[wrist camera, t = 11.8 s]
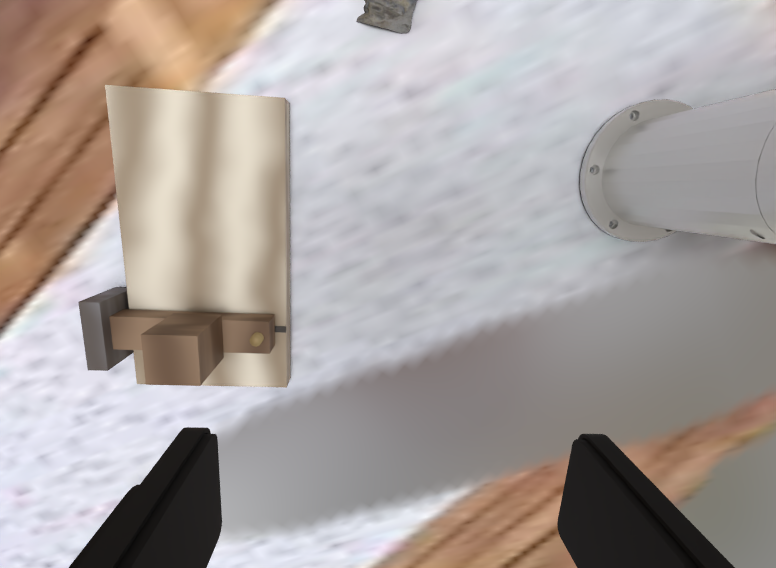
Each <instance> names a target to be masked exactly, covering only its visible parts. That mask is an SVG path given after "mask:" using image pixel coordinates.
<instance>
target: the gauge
mask: <svg viewBox="0 0 776 568" xmlns="http://www.w3.org/2000/svg"><path fill="white" fill-rule="evenodd" d="M79 309H80V316H81V323H82V331H83V338H84V345H85V352H86V360H87V367H88V370H105V371H108V370H109V369H111V368H112V367H113V366H115V365H116V364H118V363H119V362H121V361H122V360H123V359H125V358H126V357H128V356H129V355H130V354H132V353H133V352H134V351H133V350H142V352H143V362H144V372H145V382H146V384H148V385H191V386H201V385H202V383H203V382H204V381H205V380H206V379H207V377H208V376H209V375H210V374H211V373H212V371H213V370H214V369H215V368H216V367H217V365H218V364H219V363H220V362H221V361H222V359H223V358H224V353H258V354H270V353H271V351H272V349H273V347H274V346H275V315H274V314H245V313H217V312H189V311H160V310H132V309H129V304H128V295H127V288H121V287H115V288H112V289H110V290H107V291H105V292H102V293H100V294H97V295H95V296H92V297H90V298H87V299H85V300H82V301H80V302H79Z"/></svg>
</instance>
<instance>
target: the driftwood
mask: <svg viewBox="0 0 776 568" xmlns="http://www.w3.org/2000/svg"><path fill="white" fill-rule="evenodd" d="M364 1H365V3H366V4H365V6H364V11H365V13H364V14H362V15H361V16H359V17H358V19H357V22H362V23H365V24H369V25H372V26H377V27H380V28H384V29H390V30H391V31H395V32H399V33H407V32H409V31H410V28H411V19H412V13H413V11H414V8H415V5H416V1H417V0H364Z"/></svg>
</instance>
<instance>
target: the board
mask: <svg viewBox="0 0 776 568" xmlns="http://www.w3.org/2000/svg"><path fill="white" fill-rule="evenodd" d="M105 88H106V98H107V107H108V116H109V126H110V135H111V144H112V154H113V163H114V173H115V182H116V191H117V201H118V210H119V220H120V229H121V238H122V248H123V257H124V266H125V276H126V285H127V295H128V304H129V309H132V310H160V311H189V312H217V313H245V314H274V315H275V346H274V347H273V349H272V351H271V353H270V354H258V353H224V358H223V359H222V361H221V362H220V363H219V364H218V365H217V367H216V368H215V369H214V370H213V371H212V373H211V374H210V375H209V376H208V377H207V379H206V380H205V381H204V382H203V383H202V385H206V386H250V387H287V385H288V383H289V380H290V378H291V377H290V111H289V102H288V101H287V100H286V99H285V98H279V97H265V96H251V95H237V94H223V93H209V92H195V91H181V90H168V89H154V88H140V87H126V86H112V85H105ZM133 351H134V360H135V370H136V379H137V384H146V382H145V372H144V362H143V352H142V350H133Z"/></svg>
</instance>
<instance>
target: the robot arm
mask: <svg viewBox="0 0 776 568" xmlns="http://www.w3.org/2000/svg"><path fill="white" fill-rule="evenodd" d="M590 168H591V172H590ZM580 190H581V196H582V201H583V203H584V206H585V209H586V211H587V213H588V214H589V216H590V218H591V219H592V221H593V222H594V223H595V224H596V225H597V226H598V227H599V228H600V229H601V230H603V231H605V232H606V233H608V234H609V235H611V236H614V237H616V238H619V239H623V240H628V241H636V242H646V241H653V240H657V239H660V238H663V237H666V236H669V235H671V234H672V233H674V232H676V231H684V232H691V233H698V234H705V235H713V236H720V237H727V238H734V239H741V240H749V241H756V242H763V243H770V244H776V89H774V90H769V91H765V92H761V93H757V94H753V95H749V96H744V97H740V98H736V99H732V100H728V101H724V102H719V103H715V104H711V105H707V106H703V107H699V108H694V109H693V108H692V107H690V106H688V105H686V104H684V103H681V102H679V101H673V100H668V99H662V100H651V101H647V102H643V103H639V104H636V105H634V106H631V107H628V108H626V109H625V110H623V111H621V112H619V113H618V114H616V115H615V116H614V117H612V118H611V119H610V120H609V121H608V122H606V123H605V124H604V125H603V127H602V128H601V129H600V130H599V131H598V132H597V134H596V135H595V137H594V138H593V140H592V142H591V143H590V145H589V147H588V149H587V152H586V154H585V157H584V159H583V163H582V168H581V173H580ZM609 223H610V225H609ZM219 479H220V478H219V460H218V441H217V436H216V434H211V433H210V430H209V429H208V428H183V429H182V430H181V431H180V433H179V434H178V435H177V437H176V438H175V439H174V441H173V442H172V443H171V445H170V446H169V447H168V449H167V450H166V451H165V452H164V454H163V455H162V456H161V458H160V459H159V460H158V462H157V463H156V464H155V466H154V467H153V468H152V470H151V471H150V472H149V474H148V475H147V476H146V477H145V479H144V480H143V481H142V483H141V484H140V485H136V486H134V487H132V488H131V489H130V490H129V491H128V492H127V494H126V495H125V496H124V498H123V499H122V500H121V501H120V503H119V504H118V505H117V506H116V508H115V509H114V510H113V512H112V513H111V514H110V515H109V517H108V518H107V519H106V521H105V522H104V523H103V524H102V526H101V527H100V528H99V530H98V531H97V532H96V533H95V535H94V536H93V537H92V538H91V540H90V541H89V542H88V544H87V545H86V546H85V547H84V549H83V550H82V551H81V553H80V554H79V555H78V556H77V558H76V559H75V560H74V561H73V563H72V564H71V565H70V567H69V568H206V567H207V565H208V563H209V560H210V558H211V555H212V553H213V551H214V548H215V546H216V544H217V541H218V539H219V536H220V532H221V526H222V515H221V496H220V480H219ZM558 531H559V534H560V537H561V539H562V541H563V543H564V544H565V546H566V548H567V550H568V552H569V553H570V555H571V557H572V559H573V561H574V562H575V564H576V566H577V568H734V567H733V565H732V564H730V562H728V560H727V559H726V558H725V557H724V556H723V555H722V554H721V553H720V552H719V551H718V550H717V549H716V548H715V547H714V546H713V545H712V544H711V543H710V542H709V541H708V540H707V539H706V538H705V537H704V536H703V535H702V534H701V532H700V531H699V530H698V529H697V528H696V527H695V526H694V525H693V524H692V523H691V522H690V521H689V520H688V519H687V518H686V517H685V516H684V515H683V514H682V513H681V512H680V511H679V510H678V509H677V508H676V507H675V506H674V505H673V504H672V503H671V502H670V501H669V500H668V498H667V497H666V496H665V495H664V494H663V493H662V492H661V491H660V490H659V489H658V488H657V487H656V486H655V485H654V484H653V483H652V482H651V481H650V480H649V479H648V478H647V477H646V476H645V475H644V474H643V473H642V472H641V471H640V470H639V469H638V468H637V467H636V465H635V464H634V463H633V462H632V461H631V460H630V459H629V458H628V457H627V456H626V455H625V454H624V453H623V452H622V451H621V450H620V449H619V448H618V447H617V446H616V445H615V444H614V443H613V442H612V441H611V440H610V439H609V438H608V437H607V436H606V435H603V434H581V435H580V436H579V438H578V439H576V440H574V442H573V444H572V449H571V454H570V460H569V465H568V470H567V475H566V480H565V486H564V491H563V496H562V501H561V506H560V512H559V517H558Z"/></svg>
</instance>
